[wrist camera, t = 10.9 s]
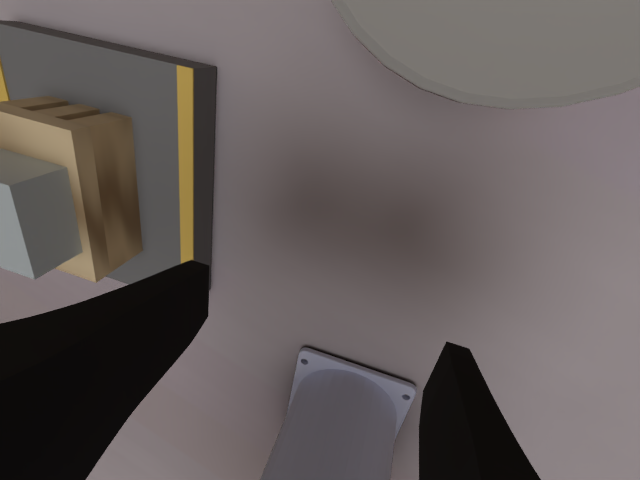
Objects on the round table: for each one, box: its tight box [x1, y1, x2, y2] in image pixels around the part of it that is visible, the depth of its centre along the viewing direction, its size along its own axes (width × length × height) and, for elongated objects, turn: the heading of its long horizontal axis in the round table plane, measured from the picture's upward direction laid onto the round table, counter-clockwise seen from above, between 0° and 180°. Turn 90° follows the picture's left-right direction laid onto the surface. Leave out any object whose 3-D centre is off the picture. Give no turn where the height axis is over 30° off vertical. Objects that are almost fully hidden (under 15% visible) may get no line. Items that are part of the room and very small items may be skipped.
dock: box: [0, 20, 217, 290], centre depth 22 cm, size 14×12×2 cm
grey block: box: [0, 148, 83, 279], centre depth 17 cm, size 4×4×3 cm
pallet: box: [0, 96, 143, 282], centre depth 19 cm, size 8×5×4 cm, turn 170°
